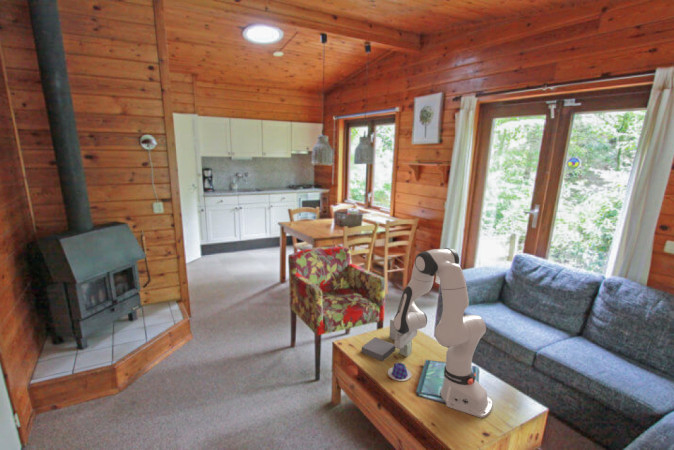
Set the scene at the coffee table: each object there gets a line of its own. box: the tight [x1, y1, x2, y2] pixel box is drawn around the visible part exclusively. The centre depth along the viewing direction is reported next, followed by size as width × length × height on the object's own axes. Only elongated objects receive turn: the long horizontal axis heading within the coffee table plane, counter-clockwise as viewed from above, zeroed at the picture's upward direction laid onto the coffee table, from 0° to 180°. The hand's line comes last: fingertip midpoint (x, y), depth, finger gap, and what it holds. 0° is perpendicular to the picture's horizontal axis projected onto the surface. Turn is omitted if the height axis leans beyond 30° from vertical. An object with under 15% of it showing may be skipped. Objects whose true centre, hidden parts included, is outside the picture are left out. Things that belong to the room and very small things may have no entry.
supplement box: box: [389, 317, 398, 341], centre depth 212 cm, size 7×7×13 cm
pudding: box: [387, 362, 412, 382], centre depth 178 cm, size 12×12×5 cm
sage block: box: [398, 341, 413, 358], centre depth 196 cm, size 5×5×7 cm
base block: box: [361, 336, 396, 362], centre depth 199 cm, size 14×14×4 cm
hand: (405, 349), depth 196 cm, fingers closed on sage block, 5 cm apart
